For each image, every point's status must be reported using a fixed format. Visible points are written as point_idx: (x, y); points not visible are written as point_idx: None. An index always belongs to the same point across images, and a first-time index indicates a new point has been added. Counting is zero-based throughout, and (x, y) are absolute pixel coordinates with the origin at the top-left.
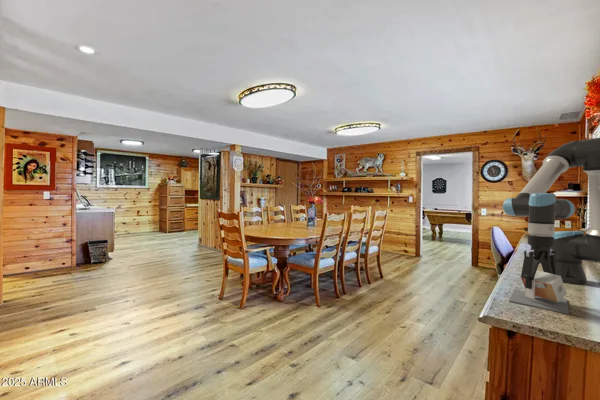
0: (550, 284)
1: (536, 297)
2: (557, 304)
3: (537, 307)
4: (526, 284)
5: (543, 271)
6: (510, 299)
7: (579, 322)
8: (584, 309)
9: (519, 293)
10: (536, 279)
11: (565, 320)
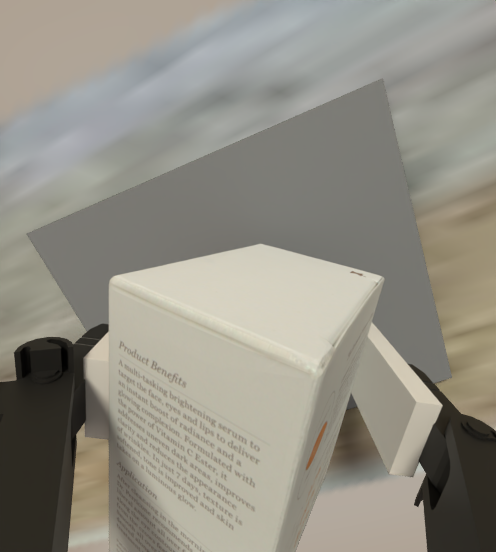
0: (110, 547)
1: None
2: None
3: None
4: (76, 348)
5: (461, 476)
6: (57, 226)
7: (103, 504)
8: (336, 461)
9: (285, 174)
10: (117, 455)
11: None
